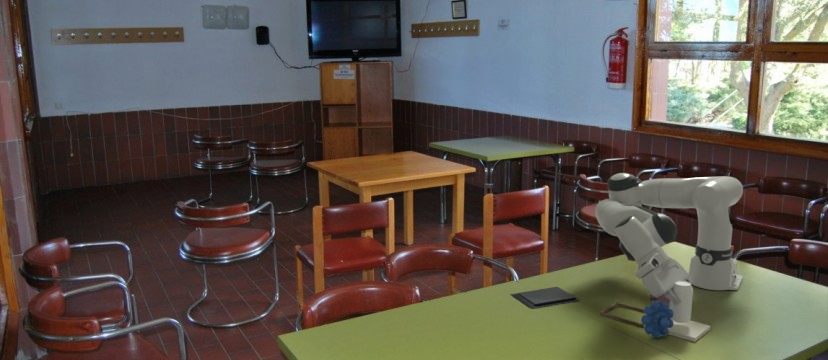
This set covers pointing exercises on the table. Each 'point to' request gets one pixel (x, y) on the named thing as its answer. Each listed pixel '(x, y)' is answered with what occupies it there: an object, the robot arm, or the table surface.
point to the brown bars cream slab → (681, 330)
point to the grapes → (657, 319)
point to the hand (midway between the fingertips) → (683, 300)
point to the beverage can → (682, 301)
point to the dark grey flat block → (544, 297)
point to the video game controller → (662, 298)
